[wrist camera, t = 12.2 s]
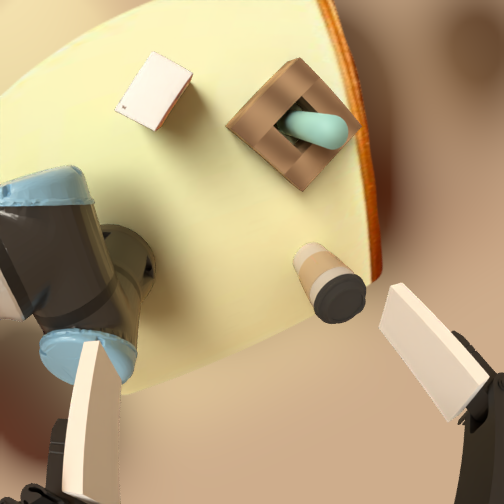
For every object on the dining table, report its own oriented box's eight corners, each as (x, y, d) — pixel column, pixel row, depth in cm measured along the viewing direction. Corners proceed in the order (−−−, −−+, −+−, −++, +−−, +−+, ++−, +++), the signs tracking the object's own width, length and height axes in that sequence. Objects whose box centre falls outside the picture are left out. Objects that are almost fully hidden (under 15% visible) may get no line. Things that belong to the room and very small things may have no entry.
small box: (161, 127, 37) (154, 134, 28) (128, 110, 35) (112, 111, 26) (191, 81, 35) (195, 73, 26) (159, 63, 33) (152, 49, 24)
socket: (290, 182, 46) (302, 191, 42) (225, 126, 39) (230, 128, 35) (345, 122, 43) (361, 126, 39) (287, 61, 36) (300, 57, 32)
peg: (289, 140, 43) (332, 156, 31) (271, 123, 41) (309, 132, 29) (306, 122, 42) (354, 132, 30) (288, 104, 40) (333, 107, 28)
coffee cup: (282, 279, 55) (313, 333, 42) (292, 236, 51) (330, 283, 38) (324, 278, 57) (360, 327, 45) (336, 238, 53) (380, 281, 41)
